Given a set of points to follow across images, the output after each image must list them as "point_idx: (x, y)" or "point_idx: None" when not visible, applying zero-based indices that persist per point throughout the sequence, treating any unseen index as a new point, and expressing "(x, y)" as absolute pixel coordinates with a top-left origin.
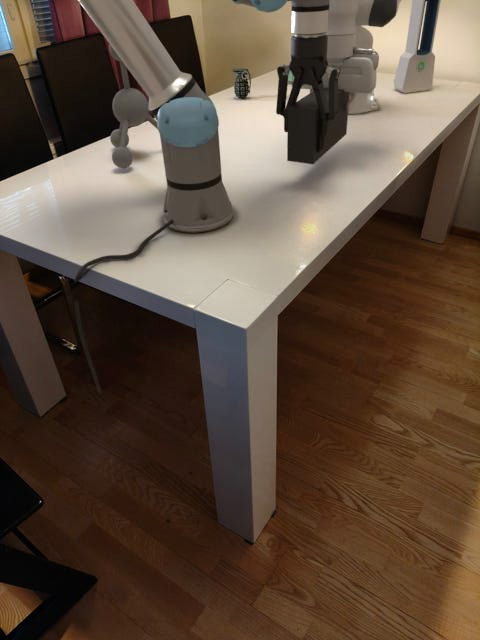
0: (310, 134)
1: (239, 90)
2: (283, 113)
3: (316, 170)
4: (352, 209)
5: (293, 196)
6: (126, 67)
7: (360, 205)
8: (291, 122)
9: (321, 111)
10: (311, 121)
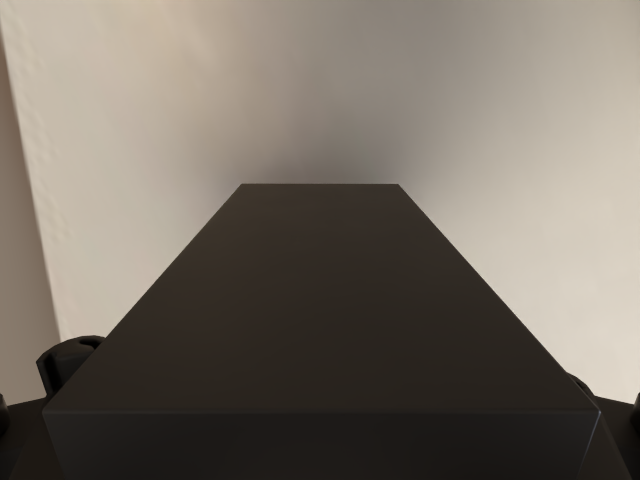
0: (227, 240)
1: None
2: (600, 417)
3: None
4: (36, 53)
5: (315, 84)
6: None
7: (31, 106)
8: (440, 283)
9: None
10: (186, 299)
